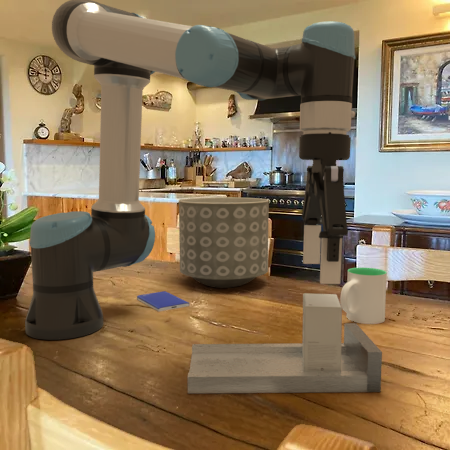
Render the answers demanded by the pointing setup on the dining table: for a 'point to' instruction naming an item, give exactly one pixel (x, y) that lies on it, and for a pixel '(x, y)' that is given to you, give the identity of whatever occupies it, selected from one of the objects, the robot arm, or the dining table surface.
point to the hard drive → (162, 301)
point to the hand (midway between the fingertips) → (319, 272)
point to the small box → (321, 332)
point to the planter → (223, 240)
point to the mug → (364, 295)
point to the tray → (284, 368)
